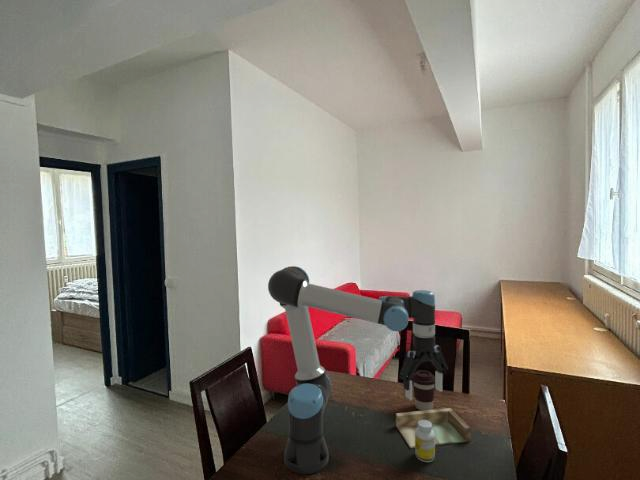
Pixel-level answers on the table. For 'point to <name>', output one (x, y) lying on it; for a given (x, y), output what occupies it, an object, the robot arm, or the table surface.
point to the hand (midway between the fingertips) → (424, 394)
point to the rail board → (434, 426)
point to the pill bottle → (425, 441)
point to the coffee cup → (423, 389)
